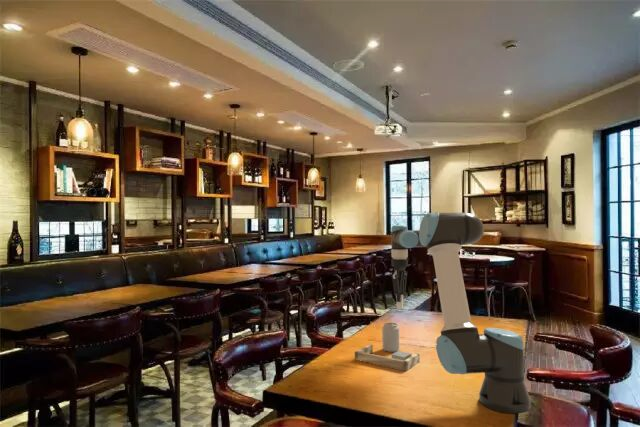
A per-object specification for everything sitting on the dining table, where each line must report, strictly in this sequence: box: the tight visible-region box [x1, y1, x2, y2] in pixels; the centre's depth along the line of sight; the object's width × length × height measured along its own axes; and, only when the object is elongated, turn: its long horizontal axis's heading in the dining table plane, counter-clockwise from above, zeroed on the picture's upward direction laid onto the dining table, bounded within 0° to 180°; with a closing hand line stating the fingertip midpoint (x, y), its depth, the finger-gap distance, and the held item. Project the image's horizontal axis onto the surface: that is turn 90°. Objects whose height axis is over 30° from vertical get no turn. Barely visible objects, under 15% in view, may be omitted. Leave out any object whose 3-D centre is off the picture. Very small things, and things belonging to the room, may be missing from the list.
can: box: [381, 322, 400, 353], centre depth 193 cm, size 8×8×12 cm
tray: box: [354, 344, 420, 372], centre depth 178 cm, size 13×24×4 cm, turn 54°
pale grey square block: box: [391, 350, 412, 360], centre depth 176 cm, size 6×6×4 cm
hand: (399, 308), depth 200 cm, fingers closed
